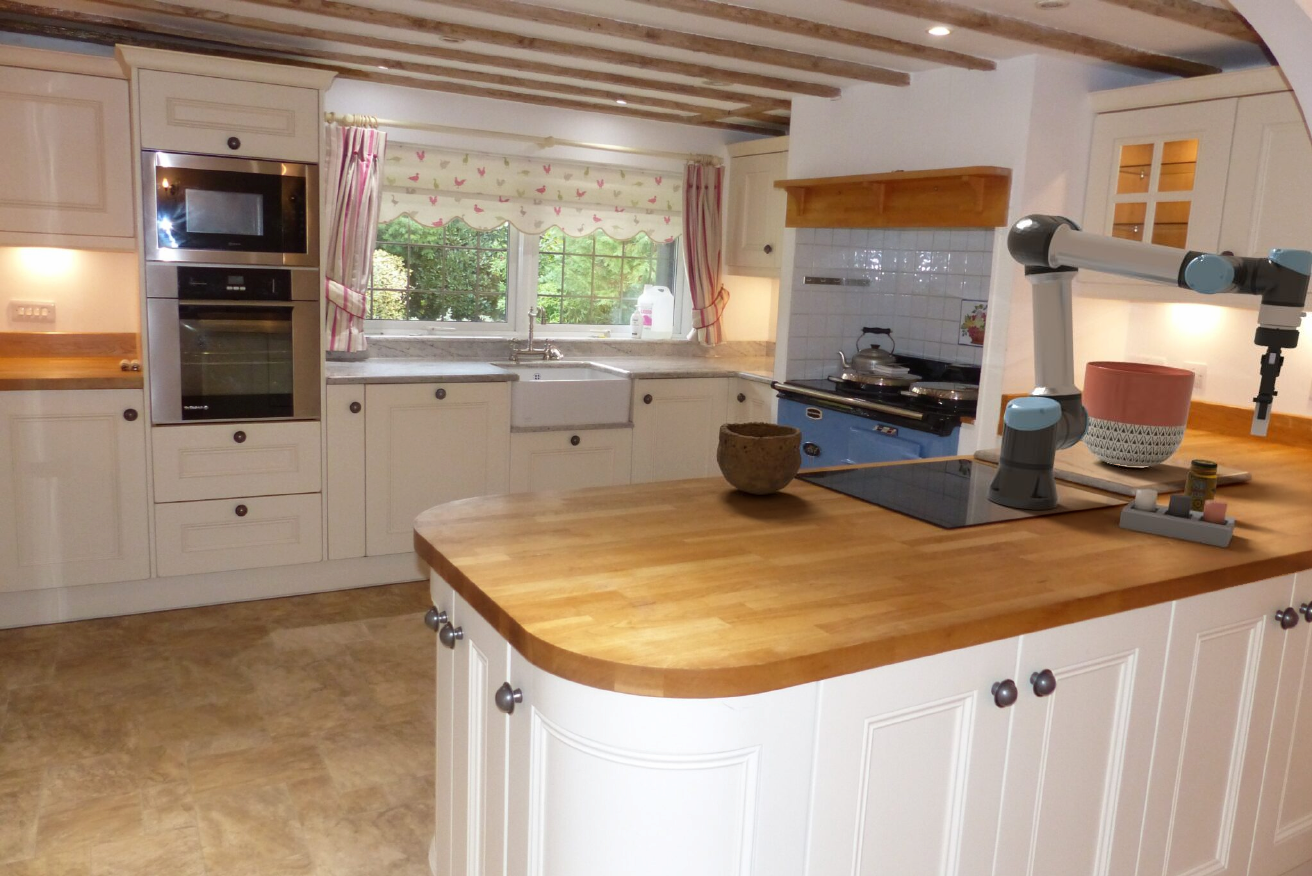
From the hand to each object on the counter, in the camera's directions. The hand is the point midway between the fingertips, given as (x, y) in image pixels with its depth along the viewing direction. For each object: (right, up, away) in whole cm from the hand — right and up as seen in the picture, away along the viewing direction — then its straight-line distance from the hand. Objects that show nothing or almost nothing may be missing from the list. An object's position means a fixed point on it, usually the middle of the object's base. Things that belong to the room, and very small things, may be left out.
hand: (1259, 430), depth 207 cm
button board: (-15, -21, +5) cm, 26 cm away
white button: (-20, -17, +8) cm, 27 cm away
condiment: (-3, -19, +21) cm, 28 cm away
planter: (+5, -9, +69) cm, 70 cm away
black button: (-15, -18, +4) cm, 23 cm away
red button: (-9, -19, +1) cm, 21 cm away
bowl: (-101, -14, +19) cm, 104 cm away
